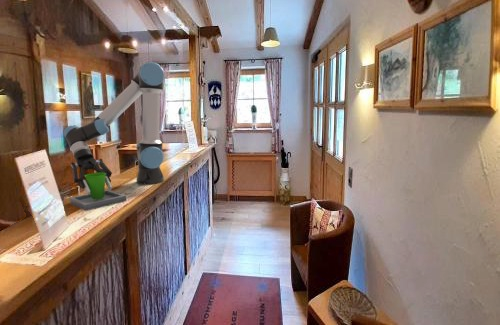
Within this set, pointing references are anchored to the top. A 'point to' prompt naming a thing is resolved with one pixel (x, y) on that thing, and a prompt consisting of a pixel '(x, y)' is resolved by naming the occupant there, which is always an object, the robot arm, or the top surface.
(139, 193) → the top surface
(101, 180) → the cup
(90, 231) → the top surface
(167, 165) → the top surface
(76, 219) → the top surface
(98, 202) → the tray
